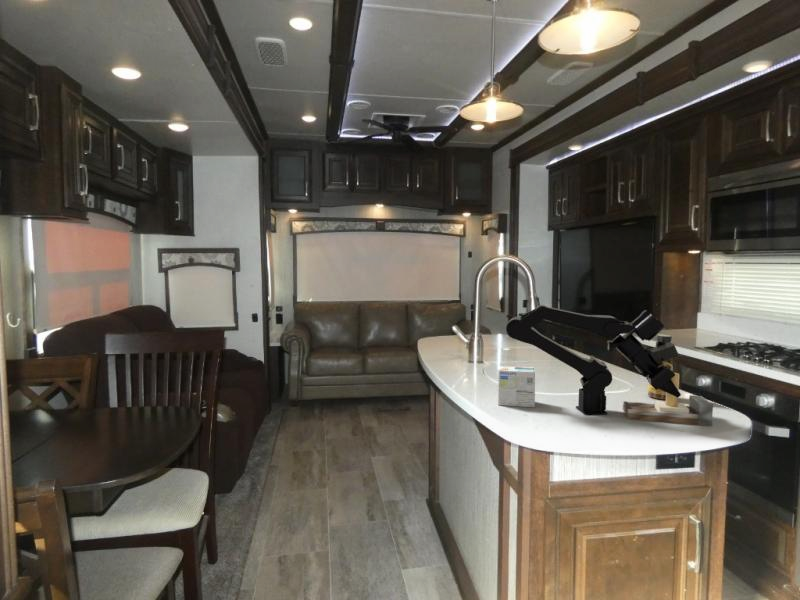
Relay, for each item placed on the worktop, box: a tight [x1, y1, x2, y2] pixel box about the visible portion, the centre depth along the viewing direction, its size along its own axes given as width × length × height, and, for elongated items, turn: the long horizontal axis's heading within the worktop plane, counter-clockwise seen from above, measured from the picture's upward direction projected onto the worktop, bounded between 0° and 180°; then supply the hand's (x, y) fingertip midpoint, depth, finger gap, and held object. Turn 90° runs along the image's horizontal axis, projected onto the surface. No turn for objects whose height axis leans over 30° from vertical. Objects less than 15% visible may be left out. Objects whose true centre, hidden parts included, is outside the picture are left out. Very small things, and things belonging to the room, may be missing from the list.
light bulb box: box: [497, 365, 536, 408], centre depth 146 cm, size 11×7×11 cm, turn 78°
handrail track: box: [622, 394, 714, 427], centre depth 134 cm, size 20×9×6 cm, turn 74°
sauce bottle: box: [647, 333, 674, 401], centre depth 152 cm, size 7×6×20 cm
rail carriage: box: [654, 372, 689, 414], centre depth 133 cm, size 7×6×11 cm
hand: (677, 394), depth 133 cm, fingers closed on rail carriage, 3 cm apart
